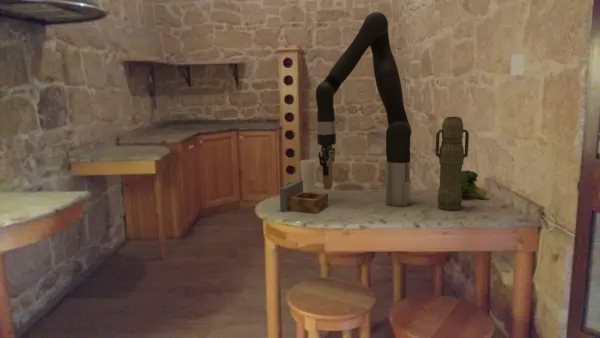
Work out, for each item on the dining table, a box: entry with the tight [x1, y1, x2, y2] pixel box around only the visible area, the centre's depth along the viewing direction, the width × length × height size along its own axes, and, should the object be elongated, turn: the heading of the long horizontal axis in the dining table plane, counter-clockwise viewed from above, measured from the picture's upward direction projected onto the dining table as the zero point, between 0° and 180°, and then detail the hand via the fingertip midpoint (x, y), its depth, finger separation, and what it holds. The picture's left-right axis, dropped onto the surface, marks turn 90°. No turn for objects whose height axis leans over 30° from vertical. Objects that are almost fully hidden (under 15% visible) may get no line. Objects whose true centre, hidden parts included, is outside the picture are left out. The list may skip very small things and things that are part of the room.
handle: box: [322, 152, 336, 191], centre depth 195 cm, size 5×6×15 cm
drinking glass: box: [299, 159, 317, 193], centre depth 209 cm, size 7×7×15 cm
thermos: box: [435, 116, 470, 212], centre depth 181 cm, size 9×12×35 cm
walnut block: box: [287, 191, 329, 214], centre depth 187 cm, size 12×12×5 cm
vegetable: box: [461, 170, 488, 200], centre depth 200 cm, size 12×13×15 cm
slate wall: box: [279, 179, 303, 213], centre depth 190 cm, size 2×17×9 cm, turn 157°
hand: (327, 174), depth 195 cm, fingers closed on handle, 4 cm apart
